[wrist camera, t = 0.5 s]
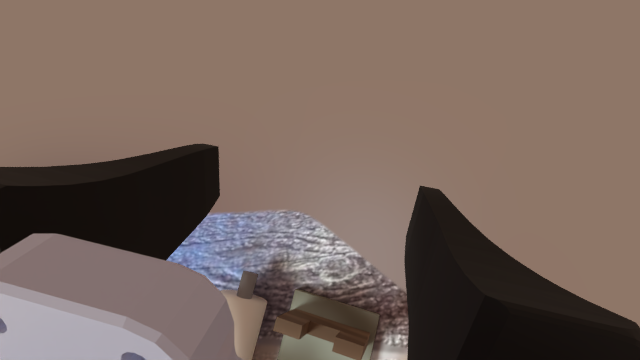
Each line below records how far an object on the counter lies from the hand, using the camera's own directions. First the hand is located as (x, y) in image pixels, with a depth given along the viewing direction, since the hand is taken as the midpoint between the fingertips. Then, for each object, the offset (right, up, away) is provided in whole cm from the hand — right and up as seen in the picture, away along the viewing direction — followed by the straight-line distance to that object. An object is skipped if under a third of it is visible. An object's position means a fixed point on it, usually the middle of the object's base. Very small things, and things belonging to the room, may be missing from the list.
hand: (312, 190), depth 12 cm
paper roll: (-9, -16, +24) cm, 30 cm away
